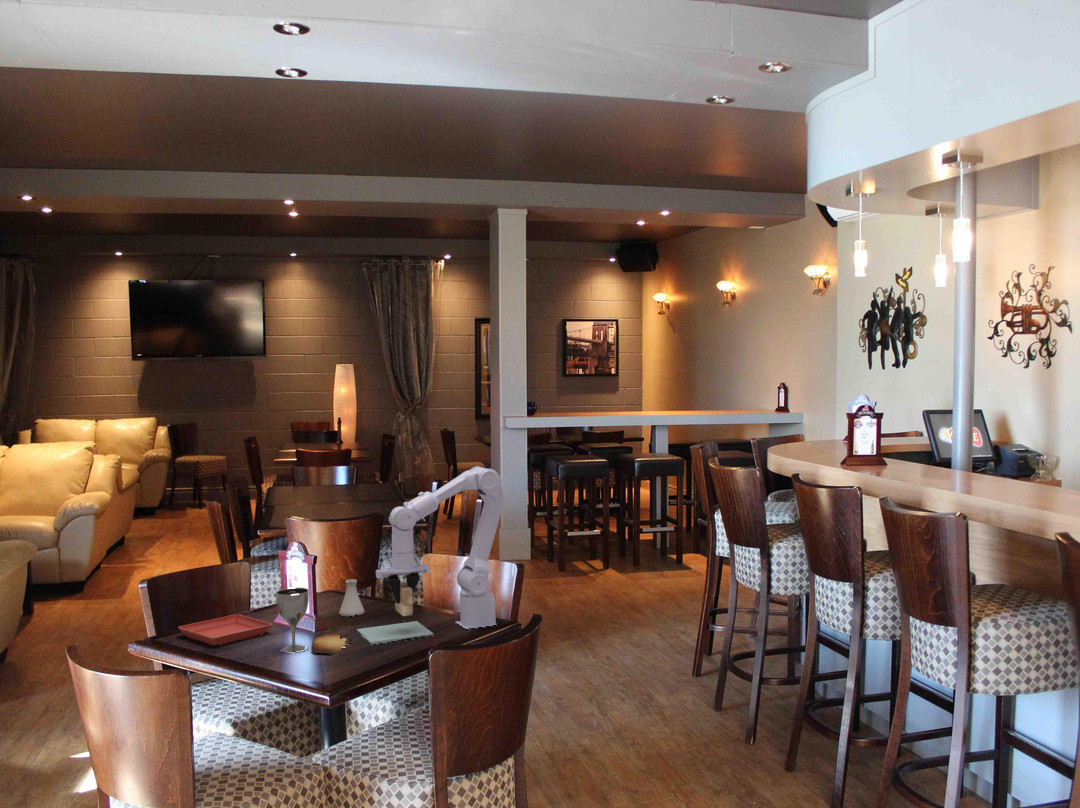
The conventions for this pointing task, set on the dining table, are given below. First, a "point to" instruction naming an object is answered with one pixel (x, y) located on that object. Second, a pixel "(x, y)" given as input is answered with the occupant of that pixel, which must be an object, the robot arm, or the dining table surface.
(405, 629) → the mat
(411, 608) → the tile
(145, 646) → the dining table surface
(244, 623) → the plant saucer
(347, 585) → the flask
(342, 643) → the parchment
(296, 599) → the wine glass
